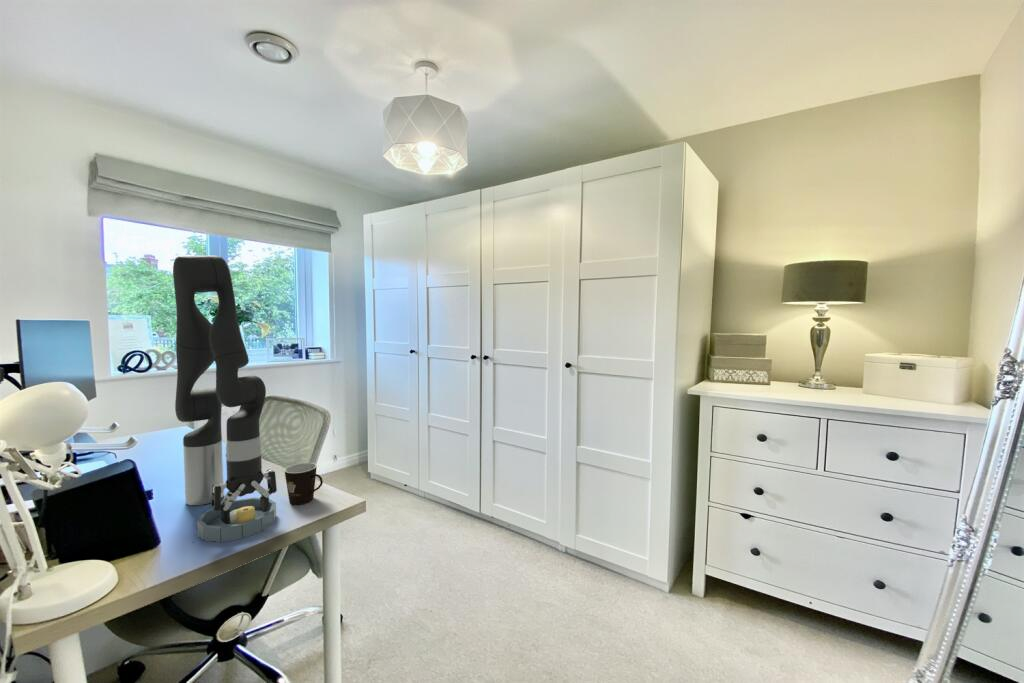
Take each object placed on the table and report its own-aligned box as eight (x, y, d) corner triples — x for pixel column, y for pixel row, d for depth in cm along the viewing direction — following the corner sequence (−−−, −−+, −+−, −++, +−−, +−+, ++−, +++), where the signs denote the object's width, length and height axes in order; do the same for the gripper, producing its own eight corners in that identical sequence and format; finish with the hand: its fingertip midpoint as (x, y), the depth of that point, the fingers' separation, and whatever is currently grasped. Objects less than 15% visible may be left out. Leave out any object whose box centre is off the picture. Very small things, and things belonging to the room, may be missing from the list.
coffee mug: (281, 500, 125) (280, 467, 124) (311, 491, 131) (310, 460, 130) (294, 513, 117) (293, 478, 116) (325, 504, 123) (325, 470, 122)
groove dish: (189, 527, 109) (189, 514, 108) (259, 504, 122) (259, 492, 122) (213, 549, 99) (212, 534, 98) (286, 521, 112) (286, 509, 112)
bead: (240, 532, 104) (239, 514, 104) (234, 527, 107) (233, 509, 107) (257, 525, 108) (257, 508, 107) (251, 521, 110) (250, 504, 110)
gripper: (217, 466, 98) (219, 532, 99) (280, 450, 110) (281, 511, 111) (205, 459, 103) (207, 523, 104) (267, 445, 114) (268, 503, 115)
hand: (245, 516), depth 107 cm, fingers open, 8 cm apart
